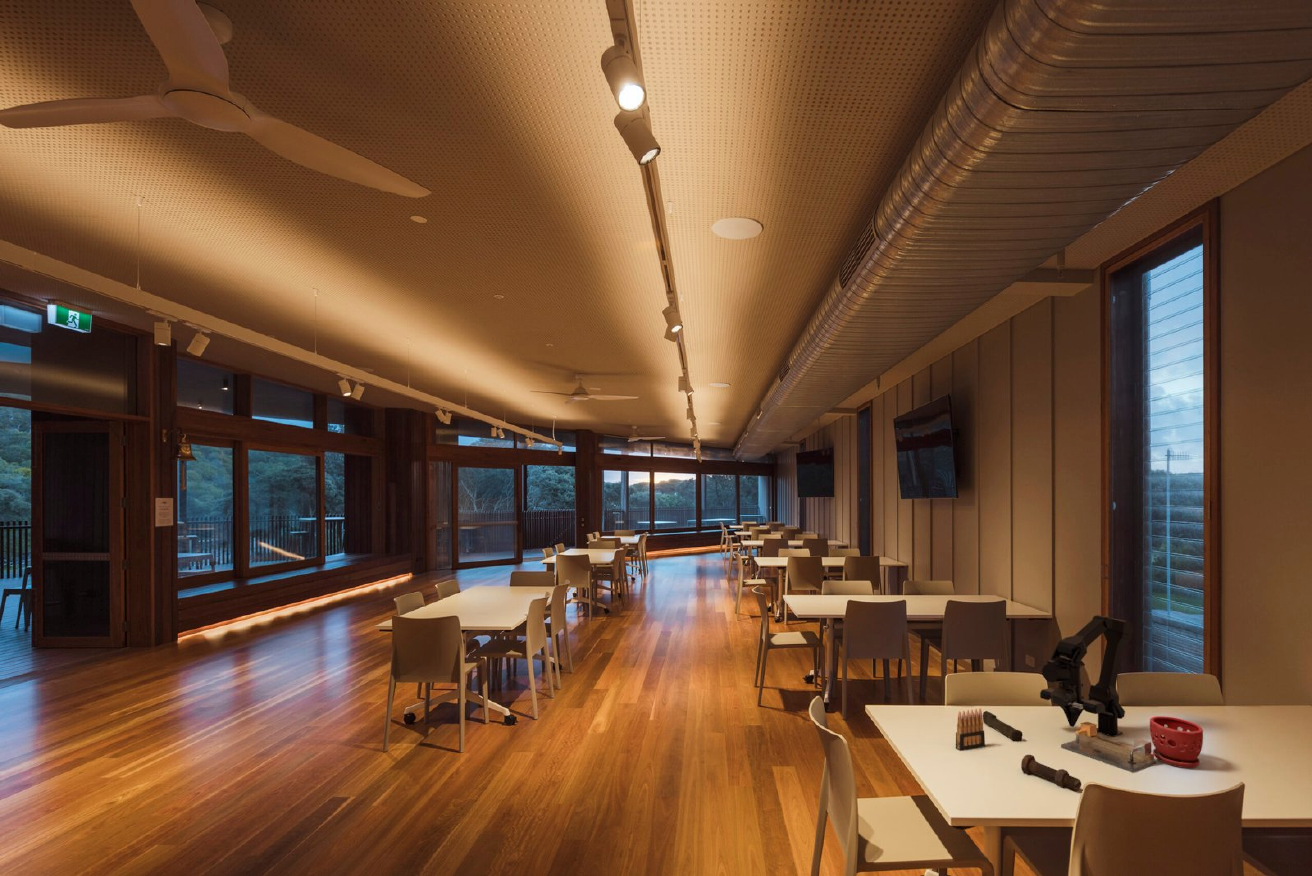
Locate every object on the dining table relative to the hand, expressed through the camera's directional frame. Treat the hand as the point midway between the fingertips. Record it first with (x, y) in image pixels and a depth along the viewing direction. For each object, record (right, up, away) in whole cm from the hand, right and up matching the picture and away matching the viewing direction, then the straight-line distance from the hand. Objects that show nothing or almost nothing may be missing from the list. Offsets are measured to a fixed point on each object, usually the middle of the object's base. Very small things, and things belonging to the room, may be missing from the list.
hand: (1072, 726), depth 227 cm
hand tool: (-22, -5, +5) cm, 23 cm away
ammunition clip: (-39, -3, -10) cm, 40 cm away
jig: (+2, -3, -14) cm, 15 cm away
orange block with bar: (0, -2, -6) cm, 6 cm away
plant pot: (+21, -3, -19) cm, 28 cm away
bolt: (-27, -2, -34) cm, 43 cm away
